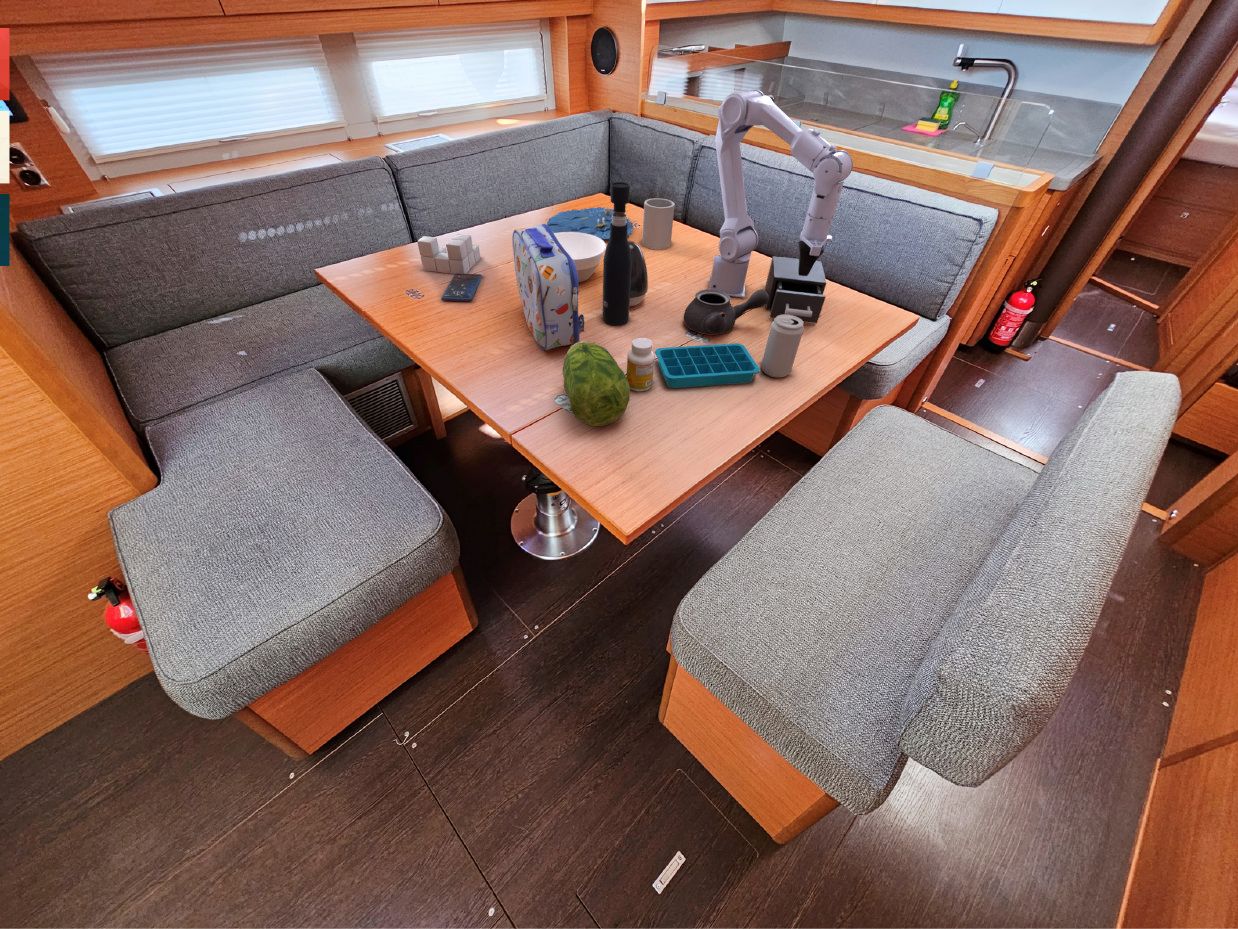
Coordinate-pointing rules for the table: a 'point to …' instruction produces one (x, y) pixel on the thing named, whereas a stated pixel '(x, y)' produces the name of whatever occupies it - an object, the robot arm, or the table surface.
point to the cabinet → (792, 275)
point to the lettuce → (594, 384)
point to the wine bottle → (617, 261)
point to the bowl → (583, 251)
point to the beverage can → (782, 345)
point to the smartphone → (462, 287)
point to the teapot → (718, 311)
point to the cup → (657, 223)
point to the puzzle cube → (449, 254)
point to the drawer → (797, 301)
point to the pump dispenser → (637, 275)
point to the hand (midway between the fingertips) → (802, 274)
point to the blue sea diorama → (585, 222)
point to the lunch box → (547, 287)
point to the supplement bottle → (640, 365)
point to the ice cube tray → (706, 365)
